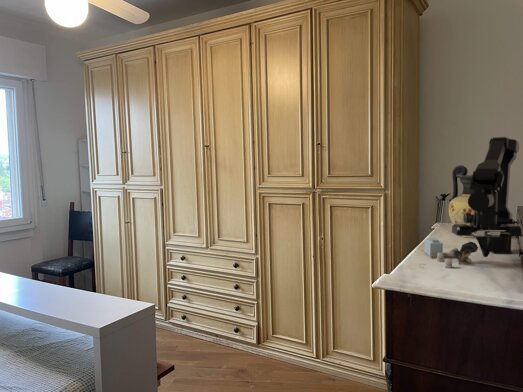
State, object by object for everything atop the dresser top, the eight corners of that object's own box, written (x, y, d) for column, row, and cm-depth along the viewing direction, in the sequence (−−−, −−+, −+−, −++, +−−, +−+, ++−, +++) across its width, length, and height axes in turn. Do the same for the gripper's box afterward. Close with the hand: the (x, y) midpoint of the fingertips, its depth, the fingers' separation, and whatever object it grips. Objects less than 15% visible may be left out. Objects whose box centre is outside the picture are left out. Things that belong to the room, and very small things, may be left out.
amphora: (494, 234, 176) (496, 164, 173) (492, 241, 162) (494, 165, 159) (450, 231, 186) (451, 165, 183) (444, 237, 171) (445, 166, 169)
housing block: (436, 251, 145) (436, 237, 144) (442, 256, 138) (442, 241, 138) (424, 251, 145) (424, 237, 145) (430, 256, 139) (430, 240, 138)
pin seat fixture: (455, 253, 143) (455, 246, 143) (477, 268, 124) (477, 260, 124) (425, 253, 144) (425, 246, 144) (442, 268, 125) (442, 260, 125)
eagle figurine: (479, 263, 125) (484, 252, 132) (465, 244, 126) (470, 234, 133) (456, 273, 130) (462, 261, 137) (443, 254, 131) (449, 244, 138)
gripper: (506, 204, 134) (505, 251, 135) (446, 204, 136) (446, 250, 138) (523, 208, 123) (522, 259, 124) (458, 209, 125) (457, 259, 127)
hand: (485, 256), depth 128 cm, fingers closed
